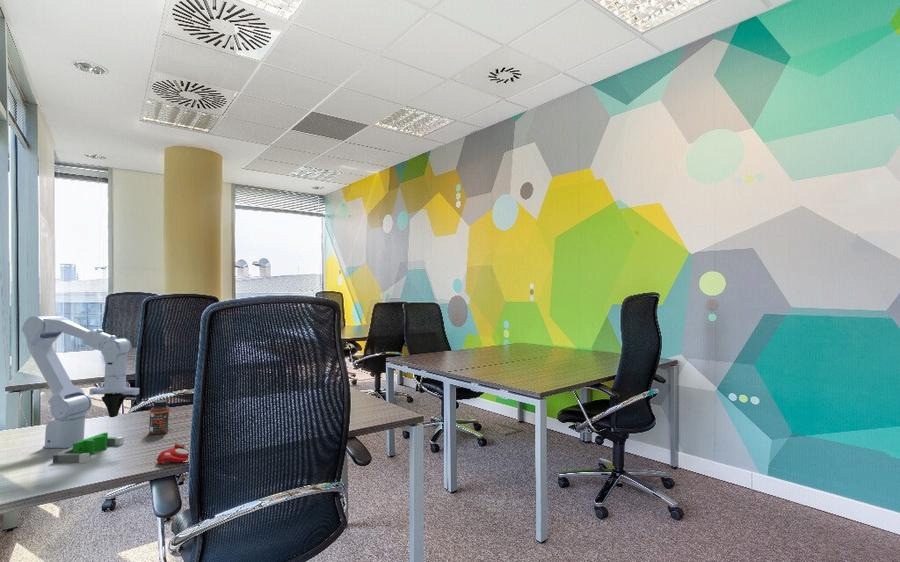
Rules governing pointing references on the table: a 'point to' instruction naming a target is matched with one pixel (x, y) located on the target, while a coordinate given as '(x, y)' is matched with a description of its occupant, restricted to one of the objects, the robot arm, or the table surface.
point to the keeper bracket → (71, 457)
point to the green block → (91, 444)
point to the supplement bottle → (159, 417)
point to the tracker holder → (174, 454)
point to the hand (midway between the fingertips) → (113, 416)
